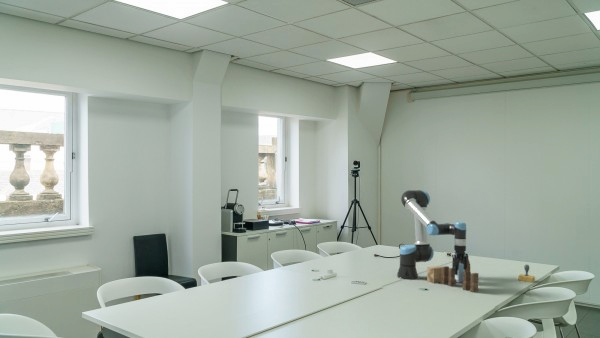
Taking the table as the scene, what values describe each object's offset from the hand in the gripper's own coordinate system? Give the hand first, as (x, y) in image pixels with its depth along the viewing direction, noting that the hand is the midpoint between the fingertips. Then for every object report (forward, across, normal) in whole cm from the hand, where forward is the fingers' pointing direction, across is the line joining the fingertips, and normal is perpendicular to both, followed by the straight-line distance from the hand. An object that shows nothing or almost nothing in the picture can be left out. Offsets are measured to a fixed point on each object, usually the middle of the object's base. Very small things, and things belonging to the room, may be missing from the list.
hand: (459, 279), depth 314 cm
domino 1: (+6, 0, +12) cm, 13 cm away
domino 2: (+6, 0, +6) cm, 9 cm away
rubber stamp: (+6, +64, -9) cm, 64 cm away
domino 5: (+6, 0, -12) cm, 13 cm away
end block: (+6, 0, +20) cm, 21 cm away
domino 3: (+2, 0, 0) cm, 2 cm away
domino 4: (+6, 0, -6) cm, 8 cm away
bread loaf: (+6, +15, +10) cm, 19 cm away
